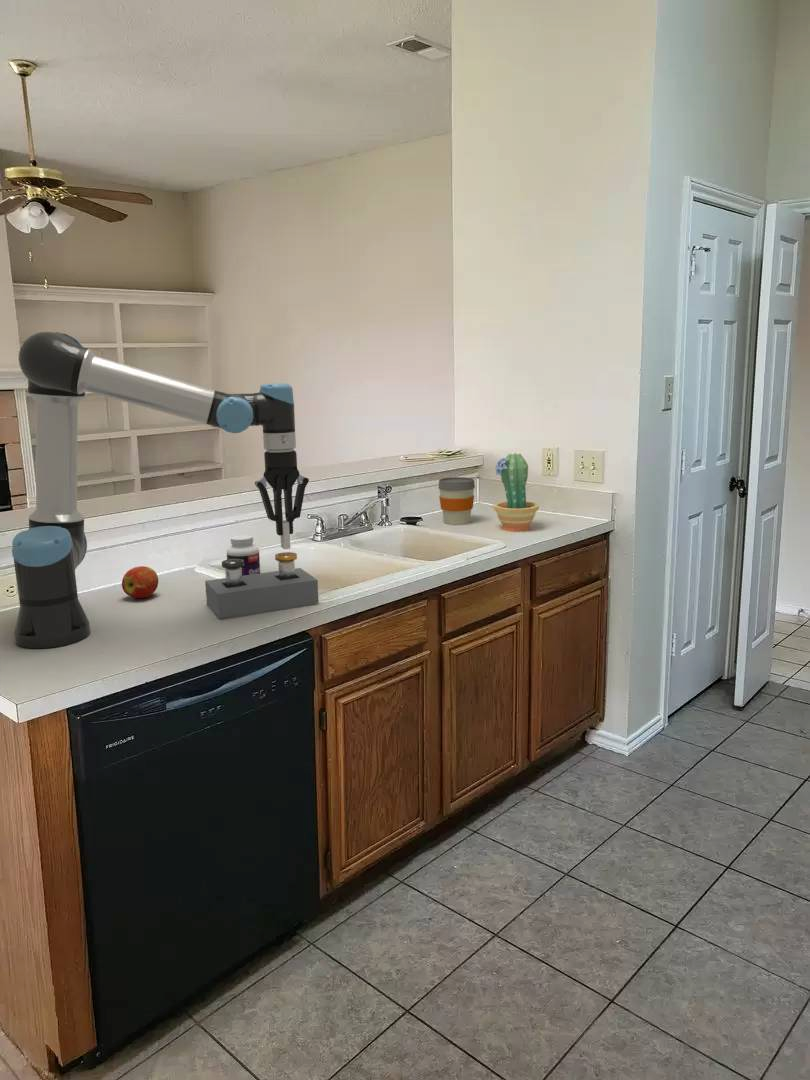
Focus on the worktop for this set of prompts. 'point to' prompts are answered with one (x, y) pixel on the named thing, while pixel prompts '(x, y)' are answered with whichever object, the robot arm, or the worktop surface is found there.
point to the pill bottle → (245, 553)
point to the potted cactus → (514, 494)
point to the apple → (140, 582)
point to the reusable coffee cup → (456, 499)
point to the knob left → (233, 572)
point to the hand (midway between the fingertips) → (285, 547)
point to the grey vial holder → (261, 594)
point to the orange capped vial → (286, 565)
